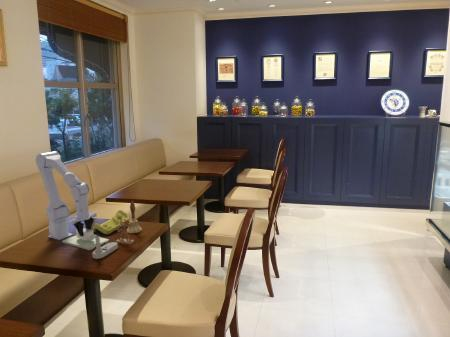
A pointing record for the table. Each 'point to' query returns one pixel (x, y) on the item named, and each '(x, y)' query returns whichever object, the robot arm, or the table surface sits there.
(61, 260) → the table surface
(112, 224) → the plastic component
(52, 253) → the table surface
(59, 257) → the table surface
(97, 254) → the electronic device
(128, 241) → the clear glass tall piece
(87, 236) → the grey connector
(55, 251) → the table surface
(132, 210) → the hand bell
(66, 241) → the sage board
